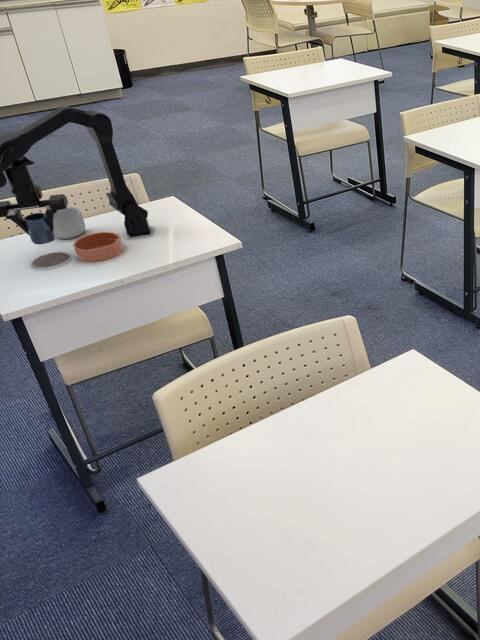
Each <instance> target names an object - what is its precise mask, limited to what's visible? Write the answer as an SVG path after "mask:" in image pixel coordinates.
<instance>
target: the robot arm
mask: <svg viewBox="0 0 480 640" xmlns="http://www.w3.org/2000/svg"><path fill="white" fill-rule="evenodd" d="M69 123H72V124H76V125H80V126H83V127H85V128H86V130H87V132H88V133H89V135H90V137H92V139H93V140H94V142H95V144H96V147H97V149H98V153H99V155H100V159H101V162H102V165H103V168H104V170H105V174H106V177H107V179H108V182H109V185H110V192H106V193H105V195H106V197H107V199H108V201H109V202H108V205H109V206H111V207H112V208H113V209H114V210H115V211H117V212H118V213H120V214H121V215H123V216H124V221H123V225H124V228H125V231H126V234H127V235H128V238H135V237H144V236H149V235H151V232H152V228H151V226H150V223H149V220H148V215H149V211H148V210H147V209H145V208H144V207H142V206H140V205H139V204H138V201H137V200H136V198H135V196H134V194H133V193H132V191H131V190H130V189H129V187H128V185H127V183H126V180H125V177H124V173H123V170H122V167H121V165H120V161H119V158H118V155H117V151H116V149H115V147H114V143H113V136H114V130H113V123H112V120H111V118H110V117H109V116H108V115H107V114H105V113H103V112H100V111H98V110H97V109H89V110H82V109H79V108H73V107H68V106H66V105H59V106H58V107H57V108H55V110H53V111H51V112H49V113H48V114H46V115H44V116H42V117H41V118H39V119H37V120H35V121H34V122H32V123H31V124H28V126H26V127H24V128H22V129H19V130H18V131H12V132H8V133H6V134H3V135H0V189H1V188H4V187H5V186H6V185H7V182H8V184H9V186H10V188H11V193H12V194H13V196H14V198H15V201H16V203H12V202H11V201H10V200H3V201H0V218H5V219H6V220H10V221H12V222H13V223H14V224H16V226H18V227H19V228H20V229H21V230H22V231H23V232H25V233H26V234H27V235H28V236H29V233H28V231H27V228H26V226H25V223H24V221H23V218H24V216H23V215H22V211H23V210H25V211H26V210H31V209H39V208H45V209H46V210H45V211H44V213H45V214H46V217H47V220H48V223H49V227H50V229H51V231H52V232H53V231H54V213H57V210H62V209H66V207H68V204H69V201H68V198H67V196H66V195H65V194H63V193H60V194H53V195H52V194H51V195H49V198H48V199H42V198H43V196H44V195H43V192H42V188H41V185H36V184H35V182H34V180H33V179H32V175H31V173H30V170H29V168H28V166H31V165H35V162H34V161H33V160H32V159H30V158H28V157H26V156H25V155H26V154H27V153H28V152H29V151H30V149H31V148H32V147H33V146H34V145H35V144H37V143H38V142H39V141H41V140H43V139H44V138H46V137H49V135H51V134H53V133H55V132H56V131H58V130H59V129H61V128H63V127H64V126H66V125H68V124H69Z"/></svg>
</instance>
